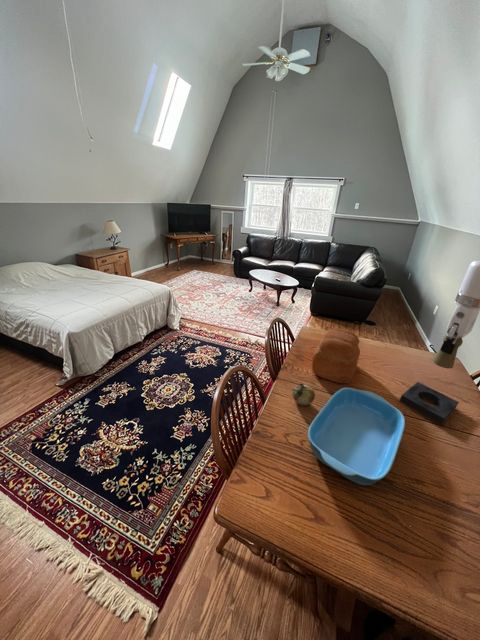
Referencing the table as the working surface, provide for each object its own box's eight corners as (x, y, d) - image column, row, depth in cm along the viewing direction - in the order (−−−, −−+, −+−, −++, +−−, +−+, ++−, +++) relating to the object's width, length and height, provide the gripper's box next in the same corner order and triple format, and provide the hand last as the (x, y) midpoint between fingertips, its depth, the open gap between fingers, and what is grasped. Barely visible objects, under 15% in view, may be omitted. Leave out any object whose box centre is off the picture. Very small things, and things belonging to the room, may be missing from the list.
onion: (307, 412, 94) (310, 394, 90) (287, 401, 98) (290, 384, 95) (316, 401, 99) (320, 384, 96) (297, 391, 104) (300, 374, 100)
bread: (307, 374, 114) (313, 340, 106) (320, 351, 131) (326, 320, 124) (350, 389, 106) (360, 353, 99) (357, 363, 123) (366, 330, 116)
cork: (451, 370, 91) (464, 342, 86) (431, 363, 94) (442, 335, 90) (454, 363, 95) (466, 336, 90) (434, 356, 98) (445, 330, 94)
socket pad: (455, 408, 99) (458, 402, 98) (441, 425, 91) (444, 418, 90) (415, 387, 109) (417, 381, 108) (399, 401, 101) (401, 395, 100)
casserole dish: (374, 514, 64) (382, 496, 61) (292, 459, 77) (296, 441, 74) (404, 424, 91) (411, 408, 87) (340, 394, 103) (344, 379, 100)
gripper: (476, 310, 77) (452, 362, 85) (493, 299, 86) (470, 347, 94) (446, 302, 82) (426, 352, 90) (465, 292, 92) (445, 338, 100)
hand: (449, 349), depth 92 cm, fingers closed on cork, 5 cm apart
